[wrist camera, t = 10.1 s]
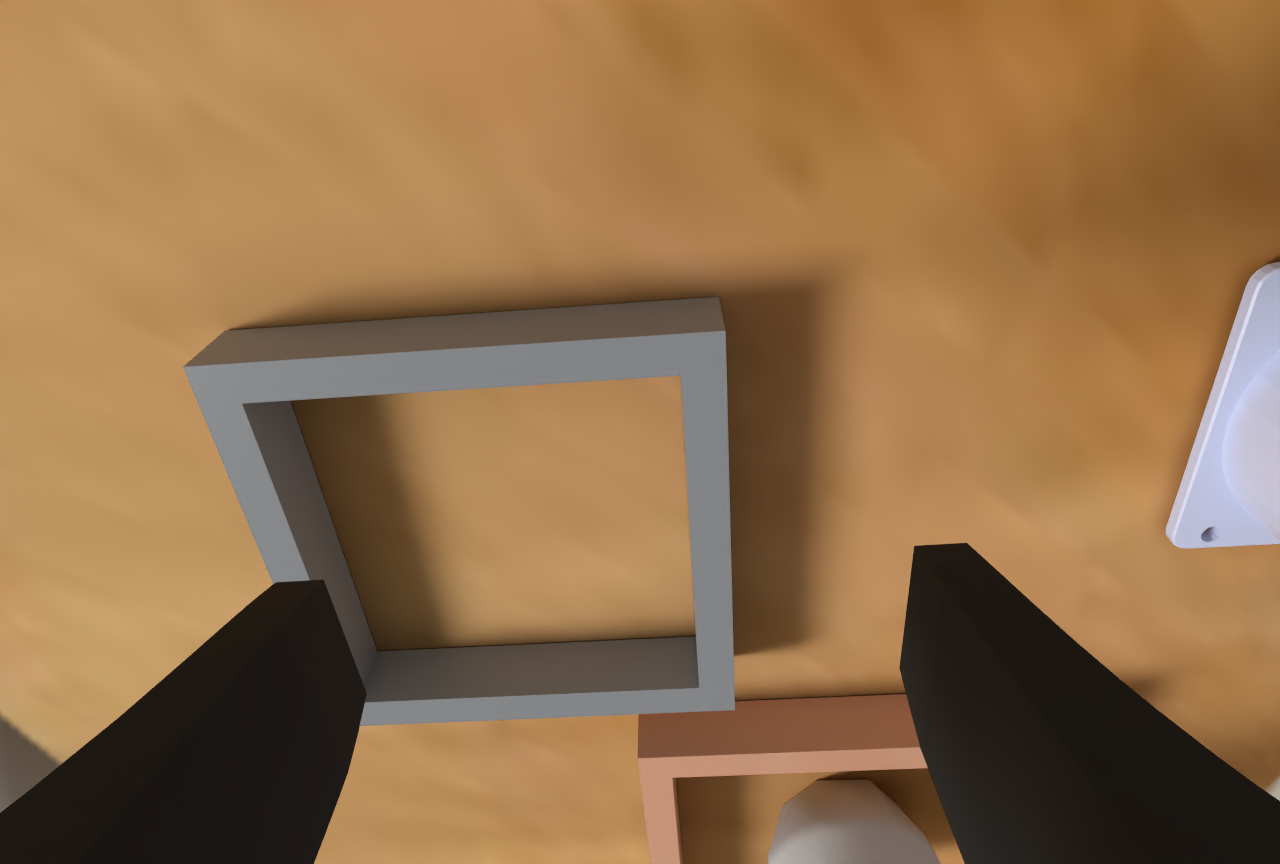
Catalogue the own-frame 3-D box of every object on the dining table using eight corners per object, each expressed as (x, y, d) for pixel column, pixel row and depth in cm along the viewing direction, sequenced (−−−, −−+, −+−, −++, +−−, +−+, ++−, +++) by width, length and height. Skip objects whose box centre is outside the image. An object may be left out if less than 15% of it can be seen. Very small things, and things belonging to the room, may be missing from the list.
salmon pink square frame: (1075, 686, 25) (1107, 740, 23) (1006, 923, 32) (1025, 976, 31) (638, 705, 26) (637, 758, 24) (665, 932, 33) (665, 985, 31)
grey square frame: (718, 296, 19) (725, 330, 17) (729, 657, 25) (734, 710, 23) (225, 330, 19) (183, 367, 17) (354, 675, 25) (333, 727, 24)
